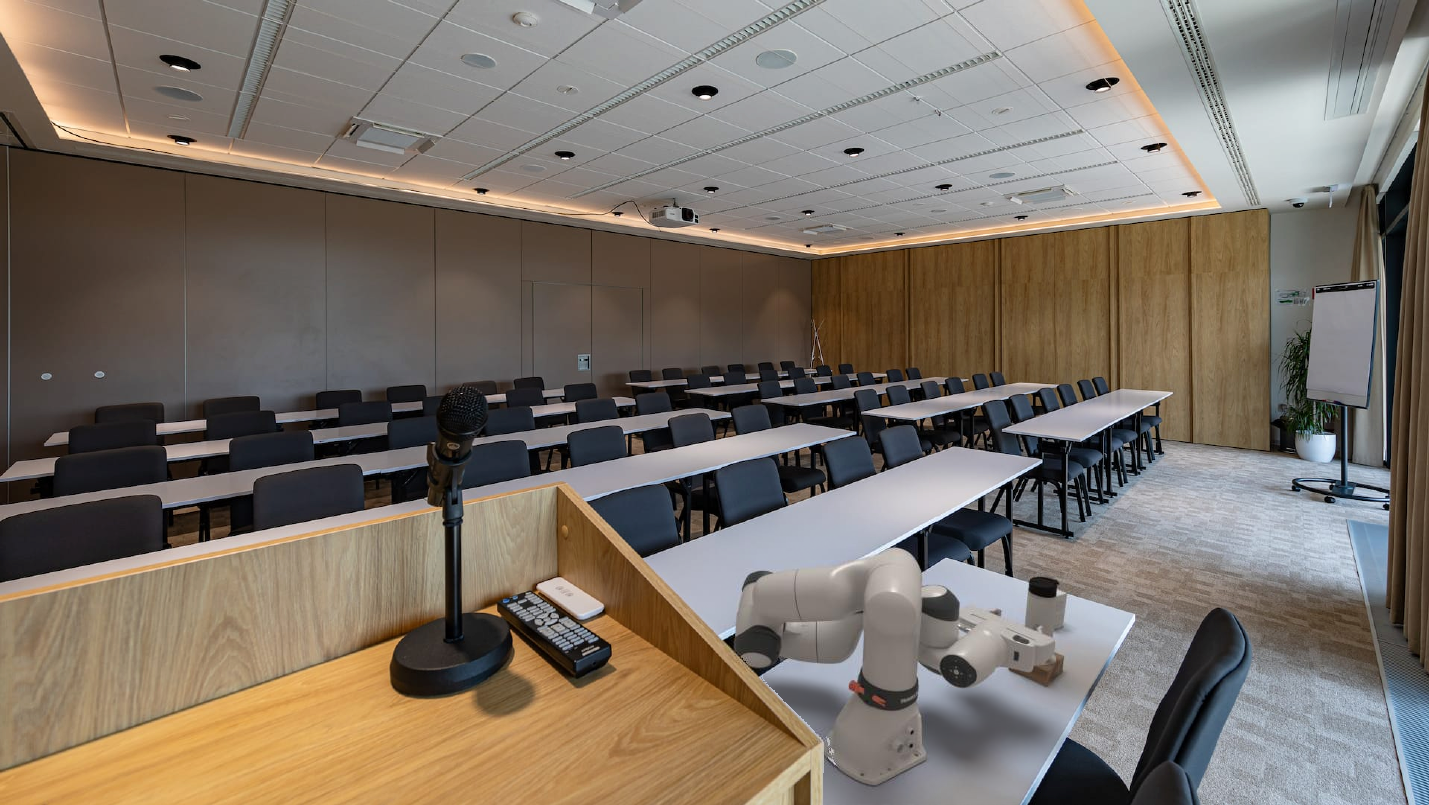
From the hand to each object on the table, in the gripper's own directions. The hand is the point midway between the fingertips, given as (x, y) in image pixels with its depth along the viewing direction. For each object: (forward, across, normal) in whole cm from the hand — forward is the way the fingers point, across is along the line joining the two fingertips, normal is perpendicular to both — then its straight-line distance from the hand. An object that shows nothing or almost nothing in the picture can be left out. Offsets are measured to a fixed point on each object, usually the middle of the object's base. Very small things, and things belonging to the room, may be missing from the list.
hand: (1018, 619), depth 143 cm
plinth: (+11, +1, -18) cm, 21 cm away
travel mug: (+11, +1, -14) cm, 18 cm away
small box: (+37, -7, -19) cm, 42 cm away
